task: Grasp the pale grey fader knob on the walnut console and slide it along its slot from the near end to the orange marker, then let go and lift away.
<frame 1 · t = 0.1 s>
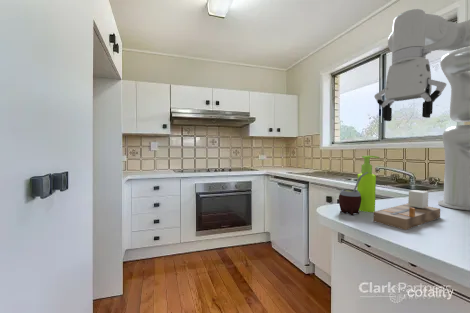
hand: (405, 119, 68), 31 cm above the table, tool pointing down, fingers open, 9 cm apart
soap dispenser: (367, 210, 87), on the table
fader knob: (418, 198, 79), point 6 cm above the table, slide at -7.0 cm
fader console: (407, 219, 76), on the table
mate gourd: (351, 213, 83), on the table
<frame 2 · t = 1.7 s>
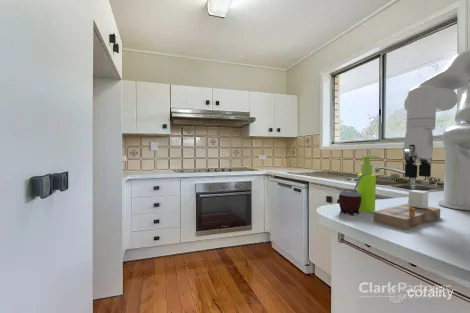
hand: (417, 176, 79), 13 cm above the table, tool pointing down, fingers open, 9 cm apart
nothing on the table moved.
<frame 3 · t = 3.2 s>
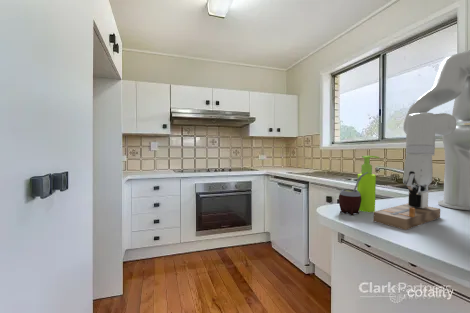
hand: (418, 205, 79), 4 cm above the table, tool pointing down, fingers closed on fader knob, 4 cm apart
fader knob: (418, 198, 79), point 6 cm above the table, slide at -7.0 cm, touching gripper
everything else where it was.
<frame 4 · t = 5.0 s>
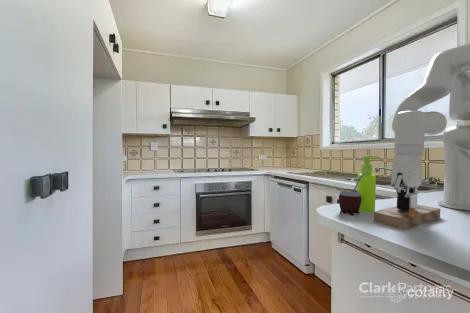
hand: (406, 208, 75), 4 cm above the table, tool pointing down, fingers closed on fader knob, 4 cm apart
fader knob: (406, 201, 75), point 6 cm above the table, slide at 0.8 cm, touching gripper
everything else where it was.
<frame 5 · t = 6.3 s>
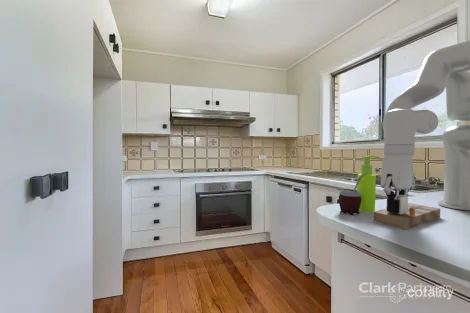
hand: (397, 210, 72), 4 cm above the table, tool pointing down, fingers closed on fader knob, 4 cm apart
fader knob: (397, 203, 72), point 6 cm above the table, slide at 6.9 cm, touching gripper
everything else where it was.
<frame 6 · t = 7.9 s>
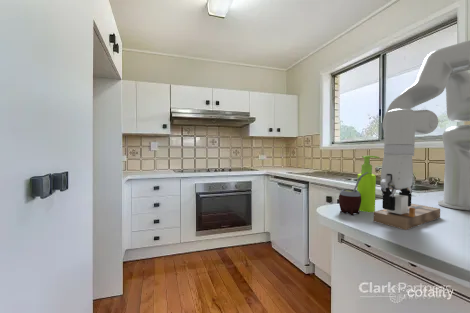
hand: (397, 207, 72), 5 cm above the table, tool pointing down, fingers open, 9 cm apart
fader knob: (397, 203, 72), point 6 cm above the table, slide at 7.0 cm
everything else where it was.
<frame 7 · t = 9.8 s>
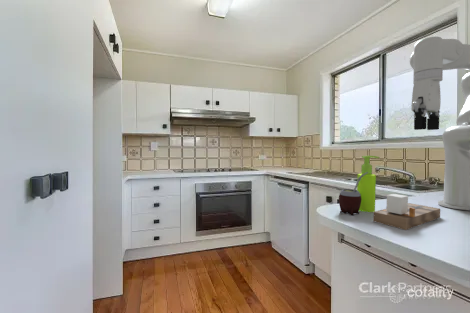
hand: (426, 129, 79), 29 cm above the table, tool pointing down, fingers open, 9 cm apart
nothing on the table moved.
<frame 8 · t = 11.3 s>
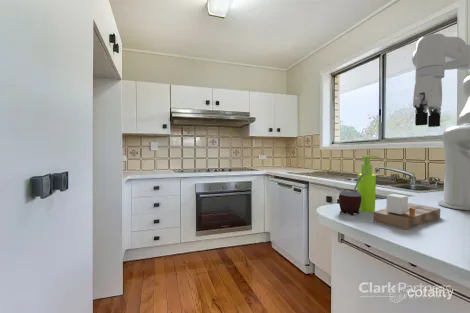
hand: (427, 125, 80), 30 cm above the table, tool pointing down, fingers open, 9 cm apart
nothing on the table moved.
at the end: fader knob slide at 7.0 cm; the gripper is holding nothing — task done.
